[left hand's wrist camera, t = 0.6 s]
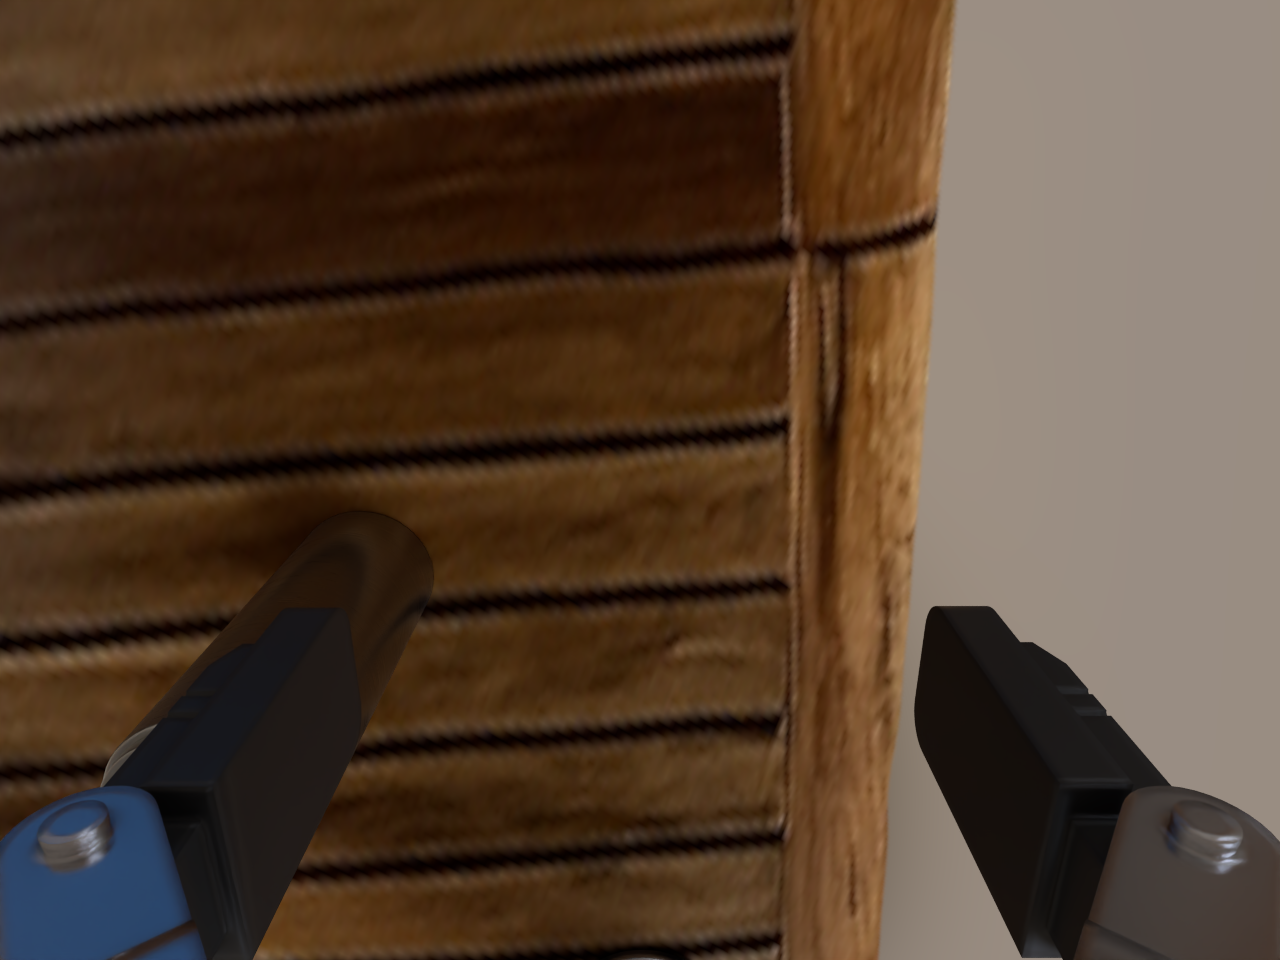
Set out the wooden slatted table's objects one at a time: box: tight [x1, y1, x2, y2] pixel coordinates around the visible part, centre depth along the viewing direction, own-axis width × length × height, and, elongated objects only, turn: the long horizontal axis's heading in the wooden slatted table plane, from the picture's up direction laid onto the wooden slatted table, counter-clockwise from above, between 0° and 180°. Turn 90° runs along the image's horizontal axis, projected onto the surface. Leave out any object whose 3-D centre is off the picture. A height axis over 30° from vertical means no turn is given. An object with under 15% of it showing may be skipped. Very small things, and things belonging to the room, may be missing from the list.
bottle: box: [101, 511, 434, 817], centre depth 33 cm, size 7×7×22 cm
